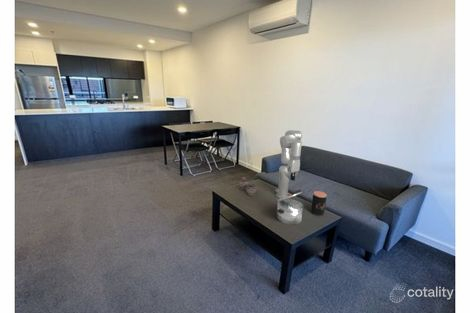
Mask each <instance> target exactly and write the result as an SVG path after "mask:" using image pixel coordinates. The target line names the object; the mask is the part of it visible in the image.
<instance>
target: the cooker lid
mask: <svg viewBox="0 0 470 313" xmlns="http://www.w3.org/2000/svg"><path fill="white" fill-rule="evenodd" d="M301 194H303V191H302V189H298V190H296V191H292V192H291V193H290V192H288V194H287V195H288V196H285V197H283V198H277V199H276V201H277V202H278V201H281V200H284V199H291V198H292V197H296V196H298V195H301Z"/></svg>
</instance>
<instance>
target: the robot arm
mask: <svg viewBox="0 0 470 313" xmlns="http://www.w3.org/2000/svg"><path fill="white" fill-rule="evenodd" d="M302 138H303V134H302V132H301V131H300V130H290V129H289V130H287V131H286V132H284V135H283V136H281V137H280V138H279V145H280V148H281V152H280V153H281V154H280V156H281V157H280V161H281V164H283V165H280V167H278V168H279V169H278V174H279V176H278V177H279V178H278V188H276V189H275V192H276V194H275V196H276V197H277V198H278V199H280V198H283V197H285V196H288V195H287V194H288V193H289V186H290V185H289V184H290V180H291V181H295V179H296V176H297V175H298V172H299V171H300V167H301V152H302V146H303V142H302V141H301V140H302ZM288 176H289V177H290V179H289V177H288Z"/></svg>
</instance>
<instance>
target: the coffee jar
mask: <svg viewBox="0 0 470 313" xmlns="http://www.w3.org/2000/svg"><path fill="white" fill-rule="evenodd" d="M327 195H328V194H327V193H325V192H324V191H320V190H319V191H318V190H316V191H313V195H312V201H311V207H310V208H311V209H310V212H311V214H313V215H314V214H315V216H318V215H321V216H323V215H324V214H325V208H326V204H327Z"/></svg>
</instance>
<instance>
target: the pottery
mask: <svg viewBox="0 0 470 313" xmlns="http://www.w3.org/2000/svg"><path fill="white" fill-rule="evenodd" d="M238 184H239V187H240V189H241V190H246V192H247V194H248V195H249V196H254V195H255V194H256V193H257V191H258V187H256V184H255V182H254V183H252V182H250V183H249V181H247V177H245V176H244V177H243V176H242V177H241V180H240V181H239V183H238Z"/></svg>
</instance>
